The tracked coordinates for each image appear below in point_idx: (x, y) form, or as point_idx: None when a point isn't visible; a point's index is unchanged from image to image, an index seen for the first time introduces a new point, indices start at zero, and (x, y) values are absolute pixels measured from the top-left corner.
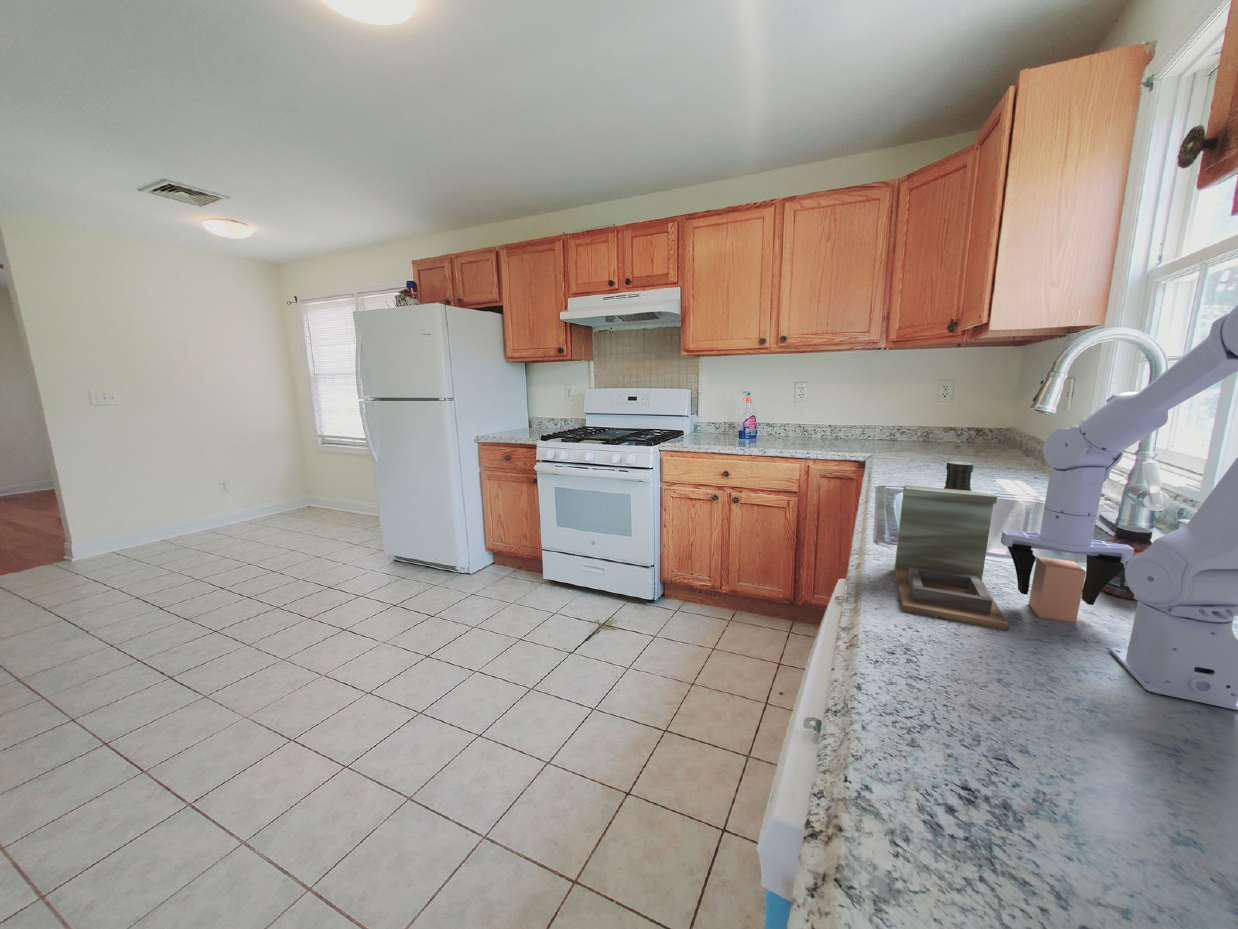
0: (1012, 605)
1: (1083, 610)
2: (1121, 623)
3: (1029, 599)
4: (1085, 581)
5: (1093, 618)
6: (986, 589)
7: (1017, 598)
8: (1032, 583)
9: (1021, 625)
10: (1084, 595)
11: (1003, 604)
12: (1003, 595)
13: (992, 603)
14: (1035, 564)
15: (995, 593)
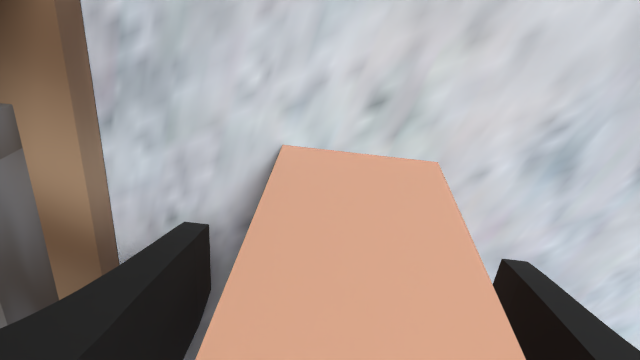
0: (199, 190)
1: (542, 136)
2: (626, 235)
3: (278, 156)
4: (564, 338)
5: (523, 220)
6: (66, 113)
7: (247, 84)
8: (256, 212)
9: (190, 354)
10: (506, 302)
11: (160, 192)
12: (181, 64)
13: (87, 282)
14: (211, 320)
15: (143, 47)
